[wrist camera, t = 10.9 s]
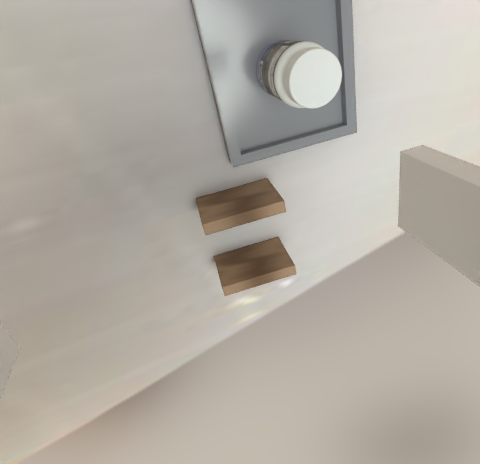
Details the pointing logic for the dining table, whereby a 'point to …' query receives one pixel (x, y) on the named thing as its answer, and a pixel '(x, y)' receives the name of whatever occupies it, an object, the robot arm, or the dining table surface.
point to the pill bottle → (299, 73)
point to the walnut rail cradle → (254, 256)
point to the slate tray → (246, 80)
